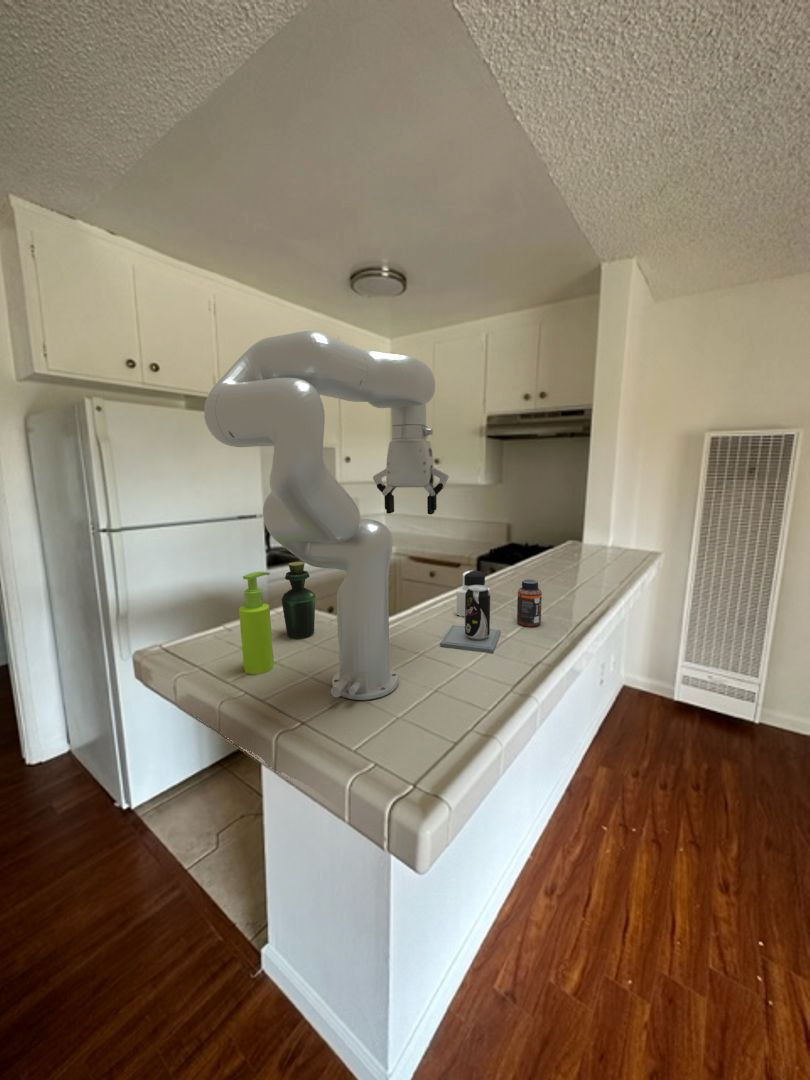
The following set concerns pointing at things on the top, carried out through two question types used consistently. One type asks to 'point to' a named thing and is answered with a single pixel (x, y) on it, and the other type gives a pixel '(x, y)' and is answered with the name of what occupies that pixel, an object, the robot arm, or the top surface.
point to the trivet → (469, 640)
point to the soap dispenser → (256, 629)
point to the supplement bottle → (529, 603)
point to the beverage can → (477, 612)
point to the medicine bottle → (468, 580)
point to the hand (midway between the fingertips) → (410, 513)
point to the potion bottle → (298, 604)
